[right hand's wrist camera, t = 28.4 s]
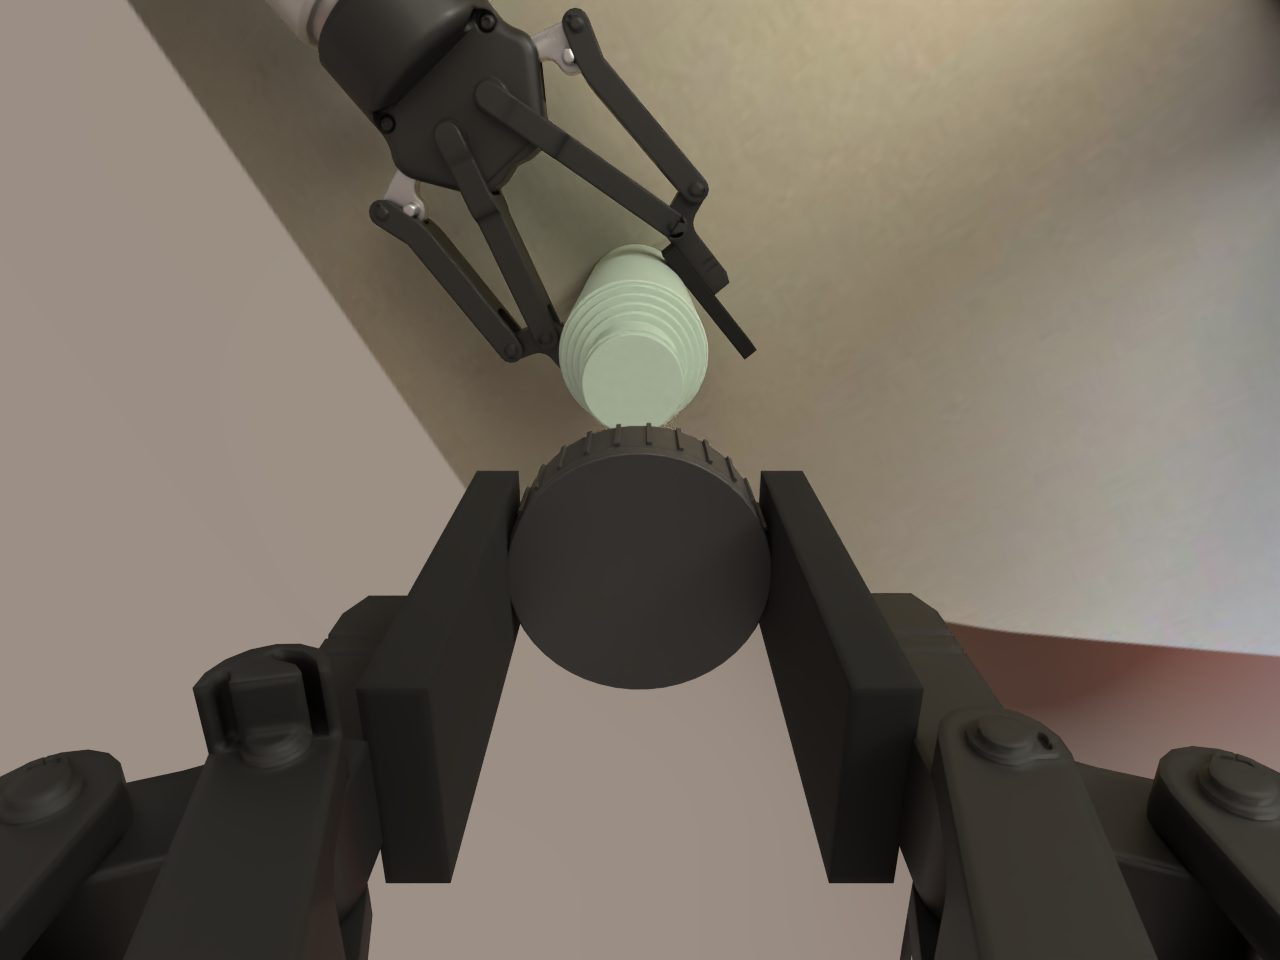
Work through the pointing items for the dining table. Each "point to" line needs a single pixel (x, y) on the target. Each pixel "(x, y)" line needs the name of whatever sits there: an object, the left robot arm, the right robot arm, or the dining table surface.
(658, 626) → the cap
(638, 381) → the bottle
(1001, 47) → the dining table surface
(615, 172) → the left robot arm
